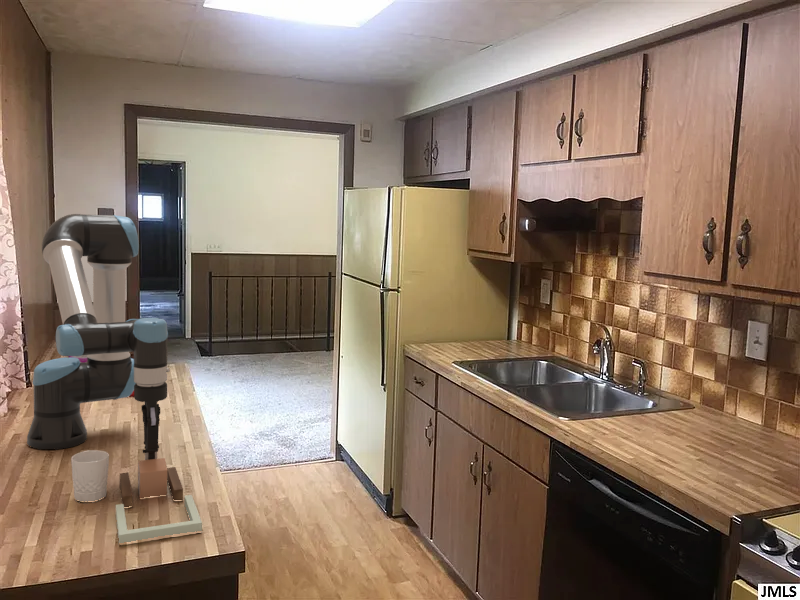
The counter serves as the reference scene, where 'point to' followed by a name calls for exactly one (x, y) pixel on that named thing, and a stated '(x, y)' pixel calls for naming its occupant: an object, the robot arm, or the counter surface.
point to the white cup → (90, 475)
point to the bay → (160, 530)
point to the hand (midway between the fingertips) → (151, 476)
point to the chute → (172, 480)
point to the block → (152, 477)
